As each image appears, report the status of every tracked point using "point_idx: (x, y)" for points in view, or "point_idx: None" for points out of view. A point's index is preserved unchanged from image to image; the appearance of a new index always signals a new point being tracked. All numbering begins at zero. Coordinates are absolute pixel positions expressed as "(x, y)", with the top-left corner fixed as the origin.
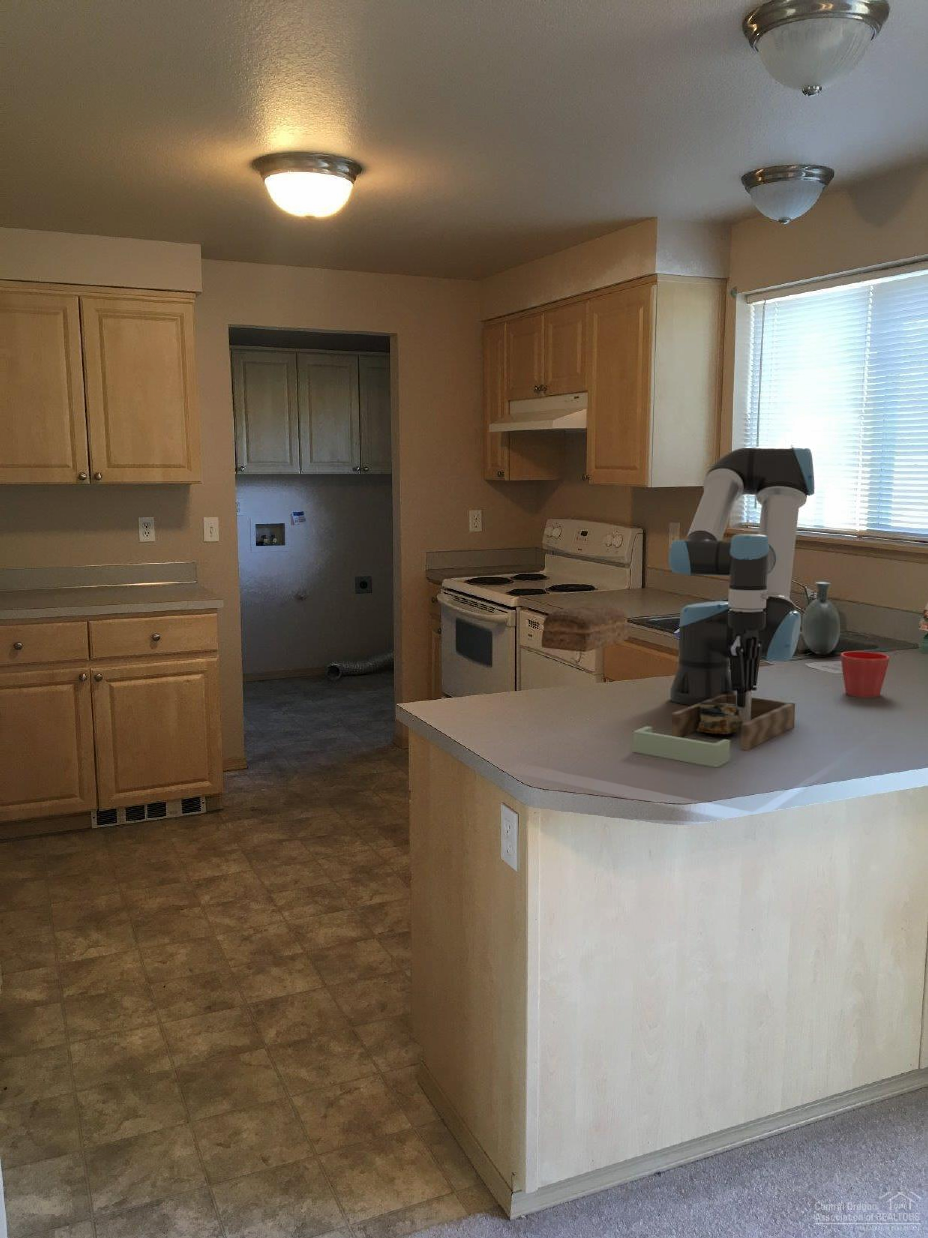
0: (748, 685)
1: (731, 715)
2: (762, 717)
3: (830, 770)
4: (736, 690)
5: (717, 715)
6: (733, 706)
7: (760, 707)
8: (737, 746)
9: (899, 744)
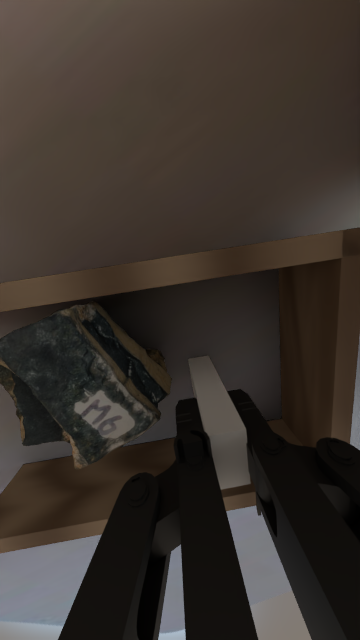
0: (266, 502)
1: (69, 441)
2: (92, 533)
3: (52, 596)
4: (169, 467)
5: (23, 416)
6: (81, 459)
7: (311, 383)
8: (40, 446)
9: (285, 574)
